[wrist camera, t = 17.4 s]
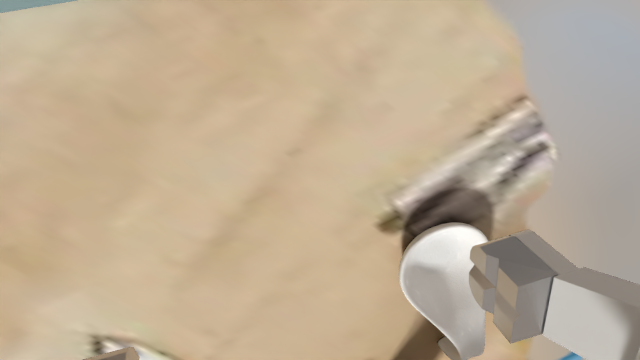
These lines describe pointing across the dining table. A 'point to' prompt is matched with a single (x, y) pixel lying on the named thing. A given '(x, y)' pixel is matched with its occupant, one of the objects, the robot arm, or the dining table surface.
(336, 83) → the dining table surface
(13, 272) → the dining table surface
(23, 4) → the parts tray
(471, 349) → the spoon rest
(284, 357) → the dining table surface
